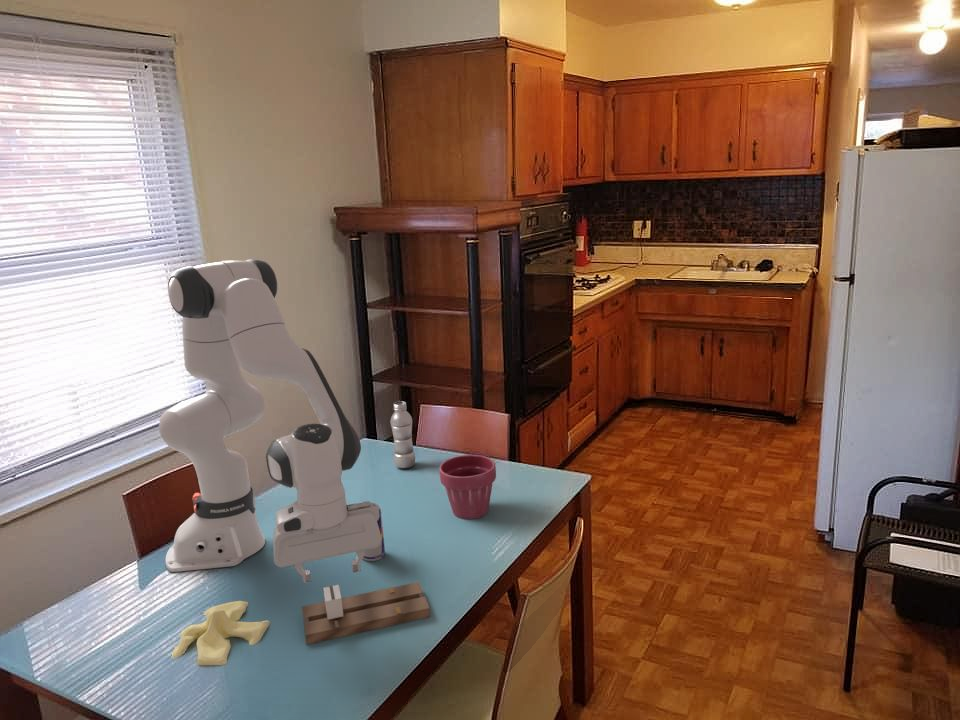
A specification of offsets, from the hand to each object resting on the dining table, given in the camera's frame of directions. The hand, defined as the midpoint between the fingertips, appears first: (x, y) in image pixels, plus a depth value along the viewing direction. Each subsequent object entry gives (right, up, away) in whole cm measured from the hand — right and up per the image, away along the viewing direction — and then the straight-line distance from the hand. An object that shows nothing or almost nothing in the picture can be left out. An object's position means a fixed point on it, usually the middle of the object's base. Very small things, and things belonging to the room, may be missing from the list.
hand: (332, 575), depth 140 cm
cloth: (-23, -13, +1) cm, 26 cm away
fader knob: (0, -10, +3) cm, 11 cm away
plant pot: (+26, +3, +46) cm, 53 cm away
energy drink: (+4, -4, +27) cm, 28 cm away
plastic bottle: (+6, +9, +77) cm, 78 cm away
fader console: (+6, -9, +4) cm, 12 cm away
